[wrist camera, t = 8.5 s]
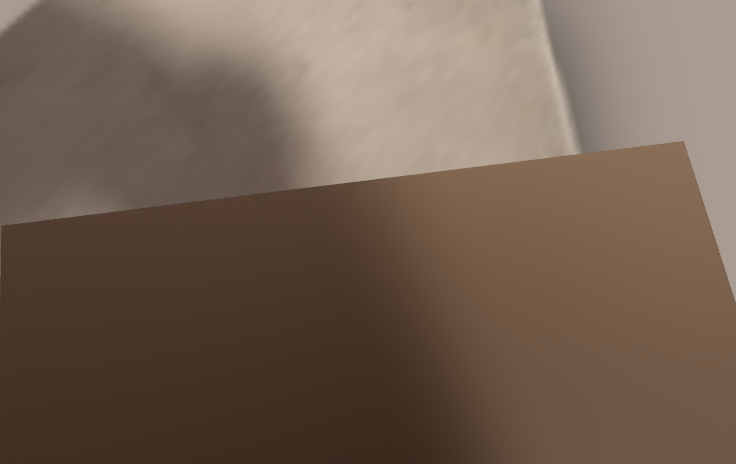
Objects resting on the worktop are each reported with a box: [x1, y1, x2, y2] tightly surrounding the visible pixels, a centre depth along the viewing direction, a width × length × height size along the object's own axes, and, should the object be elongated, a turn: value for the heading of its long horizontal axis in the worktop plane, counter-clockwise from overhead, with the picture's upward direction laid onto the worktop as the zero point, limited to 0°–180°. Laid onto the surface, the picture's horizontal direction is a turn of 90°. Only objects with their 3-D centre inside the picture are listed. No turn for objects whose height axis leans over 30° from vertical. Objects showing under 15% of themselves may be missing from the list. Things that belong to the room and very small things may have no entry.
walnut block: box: [0, 141, 736, 464], centre depth 9 cm, size 5×5×13 cm
